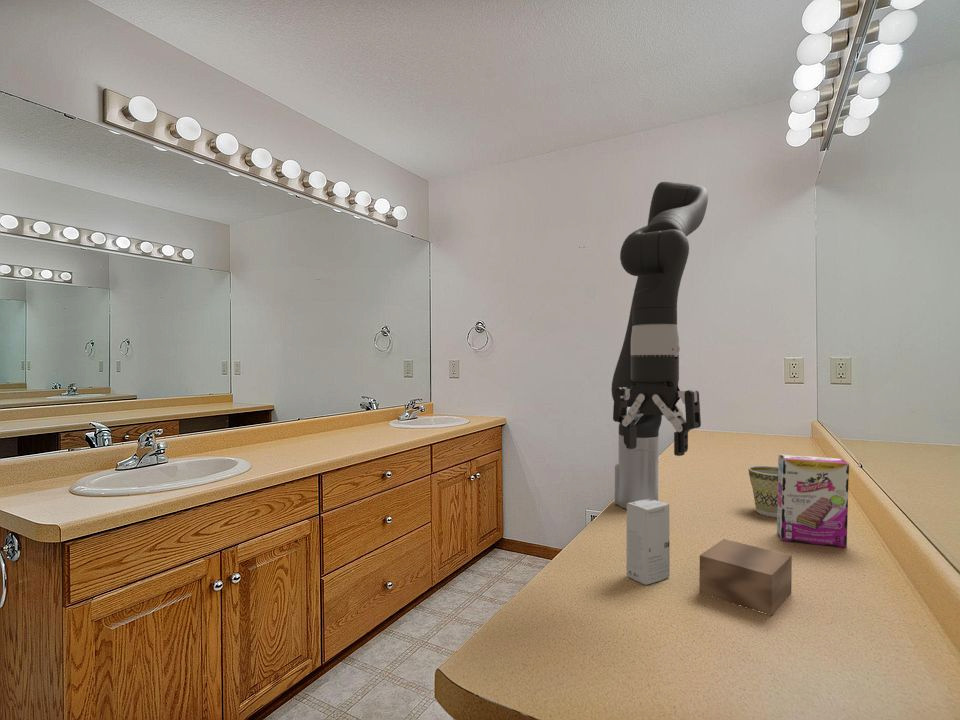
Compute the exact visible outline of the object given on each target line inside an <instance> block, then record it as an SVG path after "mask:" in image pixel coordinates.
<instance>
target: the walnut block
mask: <svg viewBox="0 0 960 720" xmlns="http://www.w3.org/2000/svg"><path fill="white" fill-rule="evenodd" d="M792 556H793V555H790V554H787V553H783V552H779V551H775V550H770V549H767V548H762V547H758V546H754V545H749V544H746V543H743V542H742V543H741V542H738V541H733V540H730V539H727V538H726V539H725V538H723V539H722V540H720V541H718V542H717V543H716V544H714V545H712V546H711V547H709V548H708V549H707V550H704V552H702V553H701V554H700V555H699V582H698V583H699V587H698V588H699V590H698V591H699V592H698V593H700V594H702V595H705V594H706V595H705V596H708V595H709V596H708V597H711V596H713V597H712V598H714V597H715V598H714V599H717V598H719V599H718V600H720V599H721V600H720V601H723V600H724V602H726V601H727V603H729V602H730V603H729V604H732V603H734V604H733V605H735V604H736V606H738V605H741V606H743V607H742V608H744V607H747V608H750V609H754V610H756V611H760V612H763V613H766V614H769V615H772V614H773V613H774V612H775V611H776V610H777V611H778V609H779V608H780V607H781V606H782V605H783V604H784V602H785V601H786V600H787V599H788V598H789V597H790V596H791V594H792V576H793V575H792V574H793V573H792V569H793V566H792V563H793V562H792V561H793V560H792V559H793V558H792ZM788 596H789V597H788ZM787 597H788V598H787ZM786 598H787V599H786ZM782 603H783V604H782ZM781 604H782V605H781ZM780 605H781V606H780ZM741 606H740V607H741ZM747 608H746V609H747ZM750 609H749V610H750ZM756 611H755V612H756ZM777 611H776V612H777ZM760 612H759V613H760ZM776 612H775V613H776ZM763 613H762V614H763ZM775 613H774V614H775ZM766 614H765V615H766ZM774 614H773V615H774ZM769 615H768V616H769ZM773 615H772V616H773Z"/></svg>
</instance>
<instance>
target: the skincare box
mask: <svg viewBox="0 0 960 720" xmlns="http://www.w3.org/2000/svg"><path fill="white" fill-rule="evenodd" d="M670 548H671V547H670V504H669V503H667V502H663V501H659V500H658V501H656V500H652V499H647V500H639V501H635V502H631V503H627V509H626V564H625V565H626V566H625V567H626V577H627V578H630V579H631V580H634V581H636V582H638V583H640V584H642V585H645V586H648V585H651V584H653V583H657V582H660V581H663V580H666V579H668V578H669V577H671V576H670V574H671V571H670V569H671V568H670V563H671V562H670V551H671V549H670Z"/></svg>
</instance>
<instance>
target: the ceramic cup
mask: <svg viewBox="0 0 960 720" xmlns="http://www.w3.org/2000/svg"><path fill="white" fill-rule="evenodd" d="M748 477H749V480H750V484H751V488H752V492H753V497H754V498H753V499H754V504H755V510H757V511H756V513H757V512H758V513H760V514H759V515H762V514H763V515H762V516H765V515H766V516H765V517H768V516H772V517H771V518H777V503H778V466H772V465H771V466H770V465H753V466H749V467H748ZM758 513H757V514H758Z"/></svg>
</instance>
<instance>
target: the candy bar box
mask: <svg viewBox="0 0 960 720" xmlns="http://www.w3.org/2000/svg"><path fill="white" fill-rule="evenodd" d="M777 467H778V503H777V517H776V533H777V535H778V536H779V538H780V540H781V541H787V542H796V543H803V544H804V543H805V544H813V545H820V546H830V547H841V548H847V546H848V515H849V514H848V513H849V481H850V480H849V477H850V463H848V462H847V461H845V460H843V459H842V458H836V457H835V458H834V457H826V456H825V457H822V456H808V455H807V456H806V455H793V454H778V465H777Z"/></svg>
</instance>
